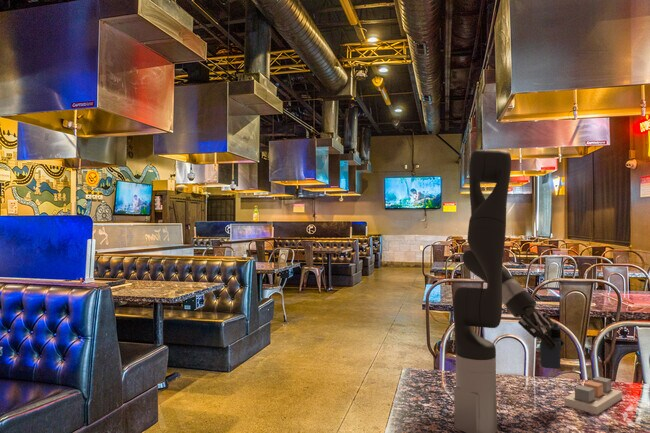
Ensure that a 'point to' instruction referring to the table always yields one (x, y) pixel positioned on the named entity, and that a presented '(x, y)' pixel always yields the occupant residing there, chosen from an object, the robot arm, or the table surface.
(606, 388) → the key right
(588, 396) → the key left
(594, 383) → the key mid
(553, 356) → the vaping device
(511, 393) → the table surface
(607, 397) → the keypad base
